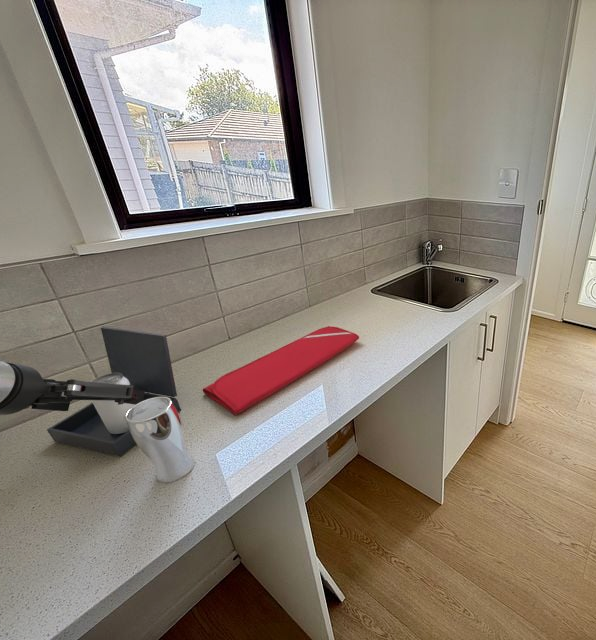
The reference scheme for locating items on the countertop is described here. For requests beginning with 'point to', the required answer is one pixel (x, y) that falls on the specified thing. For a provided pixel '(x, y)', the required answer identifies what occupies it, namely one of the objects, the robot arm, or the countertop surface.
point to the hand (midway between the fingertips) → (105, 401)
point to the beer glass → (160, 437)
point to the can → (113, 406)
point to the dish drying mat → (277, 368)
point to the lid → (141, 359)
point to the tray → (95, 431)
